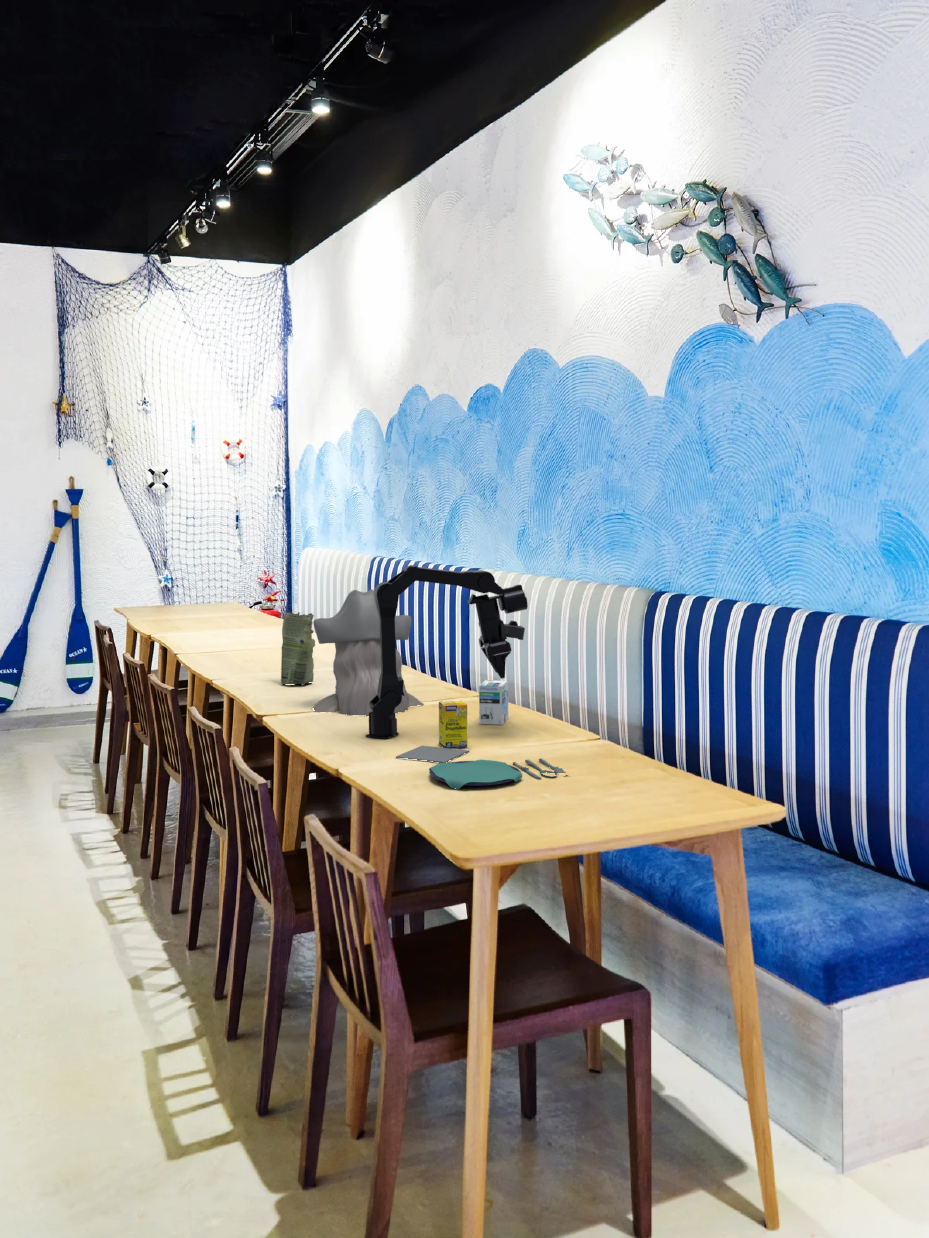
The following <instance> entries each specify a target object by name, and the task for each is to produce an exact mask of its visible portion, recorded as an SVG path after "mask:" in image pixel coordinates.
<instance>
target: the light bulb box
mask: <svg viewBox="0 0 929 1238" xmlns="http://www.w3.org/2000/svg"><path fill="white" fill-rule="evenodd" d="M478 701H479V705H478V708H479V709H478V714H479V715H478V717H479V719H478V720H479V721H478V722H479V725H495V726H498V725H499V726H503V725H504V723H506V722H507V720H509V680H494V679H493V680H491V679H485V680H484V681H483V682H481V684H480V685H478Z"/></svg>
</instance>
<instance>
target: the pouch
mask: <svg viewBox="0 0 929 1238" xmlns="http://www.w3.org/2000/svg"><path fill="white" fill-rule="evenodd" d="M300 613H301V612H300V611H298V612H297V613H293V612H285V613H284V614H283V622H282V628H281V635H282V643H281V658H280V659H281V667H280V670H281V672H280V674H281V675H280V684H281V683H282V684H281V685H283V684H304V685H306V684H305V683H309V682H313V683H314V667H315V664H314V658H313V654H314V650H313V649H314V648H315V646H316V639H314V638H313V637H312V634H313V633H314V630H313V629H312V628H313V620H314V614H313V613H312V612H311V613H308V614H305V613H303V614H300Z"/></svg>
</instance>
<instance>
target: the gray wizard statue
mask: <svg viewBox="0 0 929 1238" xmlns="http://www.w3.org/2000/svg"><path fill="white" fill-rule="evenodd" d="M312 622H313V623H312V625H313V628H314V630H315V633H316V638H317V641H318V643H319V644H320V645H324V644H334V647H335V654H334V655H335V656H334V660H333V662H332V663H333V666H332V672H333V675H334V678H335V688H334V689H335V691H334V693H333V694H330V695H327V696H326V697H324V698H322V699H320V700H319V701H318V702H317V703H316V704H314V705H313V707H312V708H314V710H315V711H313V712H314V713H320V712H331V713H341V714H342V713H343V714H345V715H344V716H351V715H366V716H365V717H367V716H369V712H372V710H371V707H370V705H369V702H370V701H371V700H372V699H373V698H374V697H375V696H376V695H377V690H378V683H379V678H380V674H381V648H380V618H379V614H378V610H377V606H376V602H375V597H374V589H372V588H371V589H369V590H367V591H365V592H364V591H360V590H358V589H354V590H351V591H350V592H349V593H348V595H347V596H346V597H345V600H344V602H343V604H342V606H341V607H340V609H339V611H338V612H337V613H336V614H335V615H333V616H332V617H327V618H326V617H325V618H323V617H322V618H321V617H320V618H316V619H313V620H312ZM412 623H413V622H412V616H410V615H408V614H402V615H395V641H408V640H409V639H410V633H411V628H412ZM402 667H403V659H402V656H401V653H400V652H399V651H398V649H397V648H396V672H397V676H398V677H401V678H402V679H403V676H402ZM403 680H404V679H403ZM403 692H404V695H405V696H403V695H402V701H401V703H400V704H399V705H398V706H397V707H395V710H394V712H395V713H397V714H399V713H398V712H402V713H405V712H406V711H405V710H407V711H408V710H409V708H411V707H410V706H417V705H422V706H425V705H424V704H425V703H423V702H421V701H420V700H419V699H418V698H417V697H415V696H414V695H413V694H410V693H408V691H407V689H406V685H405V683H404V685H403ZM343 714H342V715H343ZM346 714H347V715H346Z"/></svg>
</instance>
